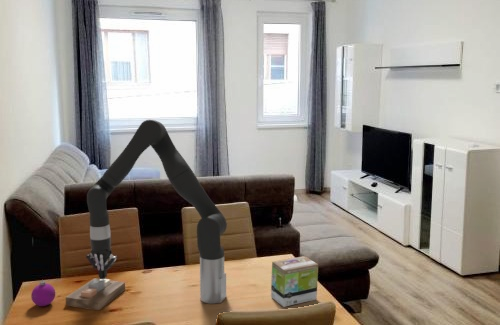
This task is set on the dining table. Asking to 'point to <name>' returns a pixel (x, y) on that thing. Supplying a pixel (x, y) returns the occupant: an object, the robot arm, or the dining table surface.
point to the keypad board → (97, 300)
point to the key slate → (96, 285)
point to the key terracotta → (89, 292)
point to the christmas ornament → (43, 294)
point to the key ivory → (106, 282)
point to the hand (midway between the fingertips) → (102, 278)
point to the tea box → (294, 281)
